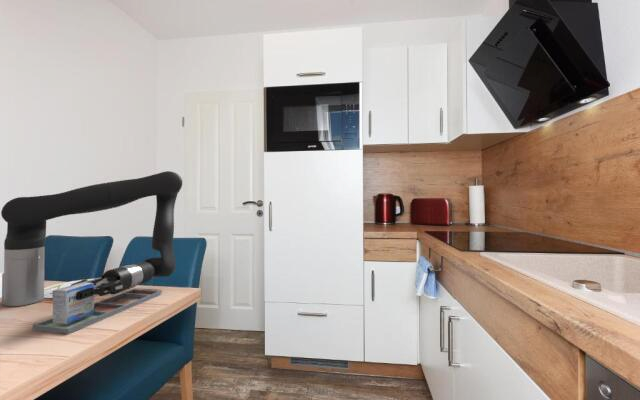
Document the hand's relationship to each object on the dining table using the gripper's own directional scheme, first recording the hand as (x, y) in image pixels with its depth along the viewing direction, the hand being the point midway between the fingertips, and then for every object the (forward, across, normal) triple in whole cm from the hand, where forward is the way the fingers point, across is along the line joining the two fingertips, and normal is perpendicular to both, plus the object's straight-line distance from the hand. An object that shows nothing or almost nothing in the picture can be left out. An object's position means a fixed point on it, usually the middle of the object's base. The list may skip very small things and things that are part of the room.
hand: (69, 295), depth 81 cm
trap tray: (-11, 0, +8) cm, 14 cm away
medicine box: (-1, 0, +7) cm, 7 cm away
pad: (-1, 0, +8) cm, 8 cm away
